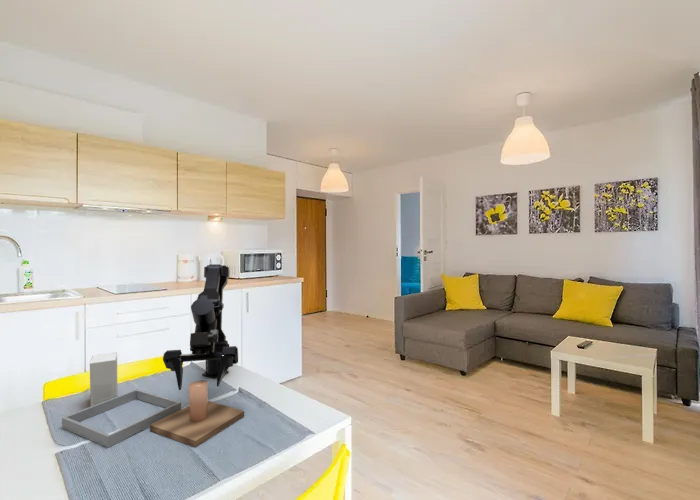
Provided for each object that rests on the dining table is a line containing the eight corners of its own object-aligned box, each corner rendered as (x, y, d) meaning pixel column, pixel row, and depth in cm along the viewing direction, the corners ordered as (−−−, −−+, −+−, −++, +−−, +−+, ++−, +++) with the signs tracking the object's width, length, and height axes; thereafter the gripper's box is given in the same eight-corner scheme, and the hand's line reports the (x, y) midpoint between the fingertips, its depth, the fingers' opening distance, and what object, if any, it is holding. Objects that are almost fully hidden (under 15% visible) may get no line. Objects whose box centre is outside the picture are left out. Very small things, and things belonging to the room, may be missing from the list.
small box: (92, 398, 106) (92, 355, 106) (118, 393, 110) (117, 351, 109) (89, 409, 99) (89, 363, 99) (116, 403, 103) (116, 359, 102)
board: (149, 430, 88) (149, 424, 88) (201, 404, 103) (201, 399, 103) (195, 447, 81) (195, 440, 81) (244, 416, 96) (244, 411, 96)
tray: (62, 427, 89) (61, 417, 89) (136, 397, 107) (136, 389, 107) (108, 447, 81) (108, 436, 81) (181, 411, 98) (181, 402, 98)
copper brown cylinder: (187, 422, 89) (186, 387, 89) (192, 414, 94) (191, 380, 93) (205, 421, 90) (205, 386, 90) (209, 412, 94) (209, 379, 94)
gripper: (164, 320, 94) (152, 377, 84) (237, 317, 99) (234, 371, 88) (171, 341, 102) (161, 396, 92) (239, 337, 106) (237, 389, 96)
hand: (198, 387), depth 92 cm, fingers open, 9 cm apart
